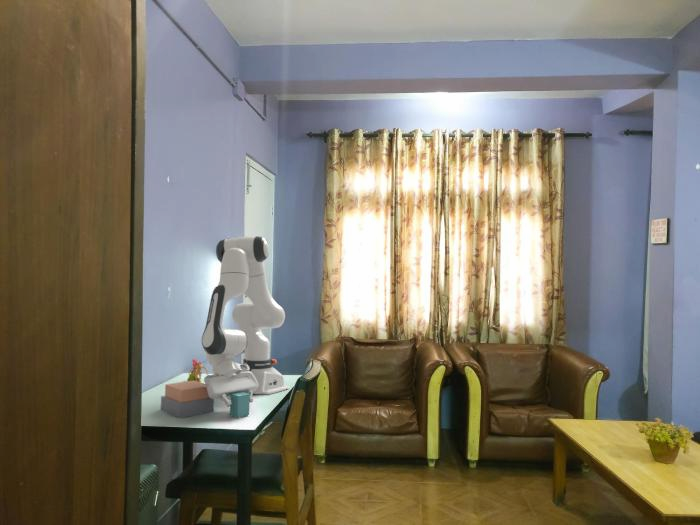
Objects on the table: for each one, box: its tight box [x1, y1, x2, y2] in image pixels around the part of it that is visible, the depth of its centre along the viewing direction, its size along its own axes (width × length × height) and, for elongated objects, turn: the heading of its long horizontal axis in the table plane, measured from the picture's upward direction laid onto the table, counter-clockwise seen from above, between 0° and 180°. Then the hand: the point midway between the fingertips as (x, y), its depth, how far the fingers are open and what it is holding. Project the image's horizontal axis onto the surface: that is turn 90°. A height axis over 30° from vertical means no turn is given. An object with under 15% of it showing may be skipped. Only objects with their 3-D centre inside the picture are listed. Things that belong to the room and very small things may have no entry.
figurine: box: [188, 362, 209, 382], centre depth 229 cm, size 8×6×12 cm
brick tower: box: [160, 381, 215, 419], centre depth 198 cm, size 14×14×10 cm
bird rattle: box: [186, 358, 202, 383], centre depth 247 cm, size 6×11×9 cm
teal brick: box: [229, 392, 250, 419], centre depth 193 cm, size 5×5×8 cm
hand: (240, 403), depth 193 cm, fingers open, 8 cm apart
